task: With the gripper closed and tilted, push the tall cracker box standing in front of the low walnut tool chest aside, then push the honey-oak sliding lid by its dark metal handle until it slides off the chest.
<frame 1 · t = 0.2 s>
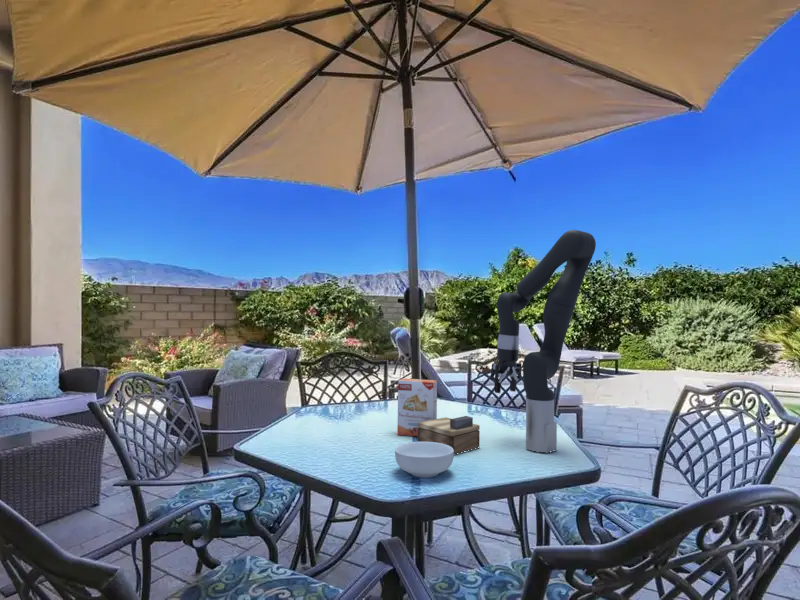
hand: (505, 392, 171), 18 cm above the table, tool pointing down, fingers open, 8 cm apart
cracker box: (416, 435, 178), on the table
cereal bowl: (424, 473, 136), on the table
toolbox lid: (448, 421, 163), point 9 cm above the table, slide at 0.0 cm
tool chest: (448, 446, 163), on the table
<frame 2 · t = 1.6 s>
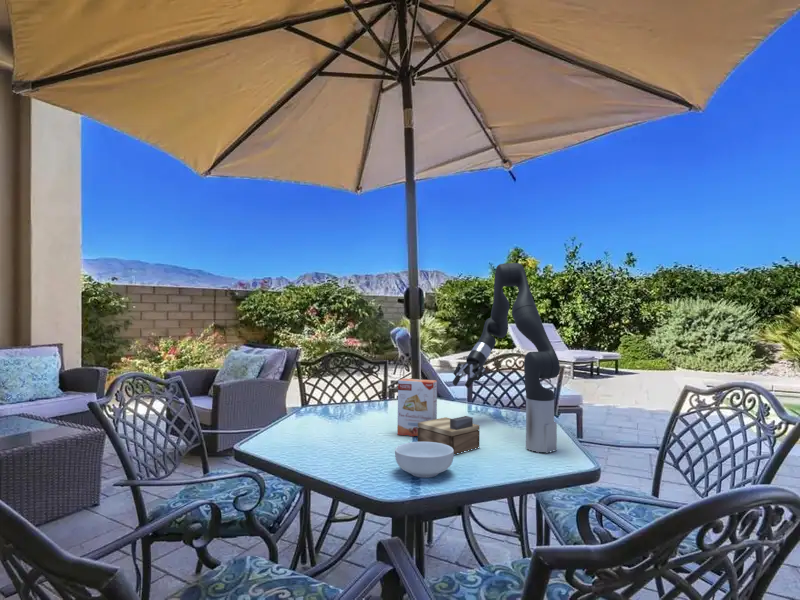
hand: (460, 385, 194), 16 cm above the table, tool tilted 45°, fingers open, 6 cm apart
nothing on the table moved.
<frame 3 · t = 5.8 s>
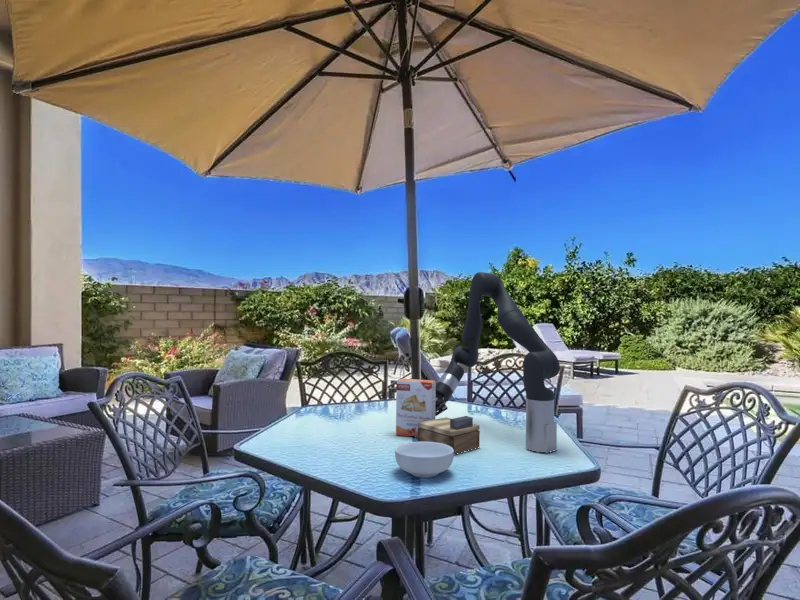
hand: (422, 422, 180), 4 cm above the table, tool tilted 45°, fingers closed
nothing on the table moved.
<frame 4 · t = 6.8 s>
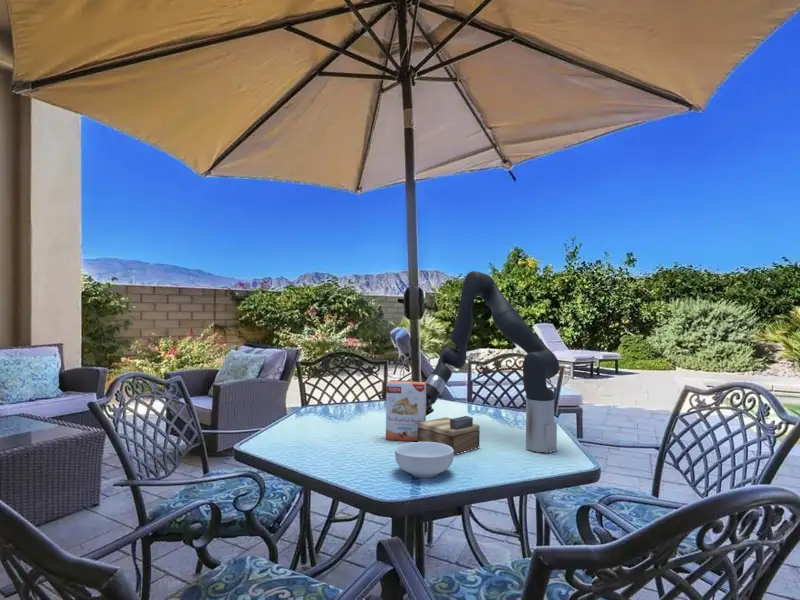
hand: (408, 425, 175), 4 cm above the table, tool tilted 45°, fingers closed
cracker box: (405, 440, 172), on the table, touching gripper
everything else where it was.
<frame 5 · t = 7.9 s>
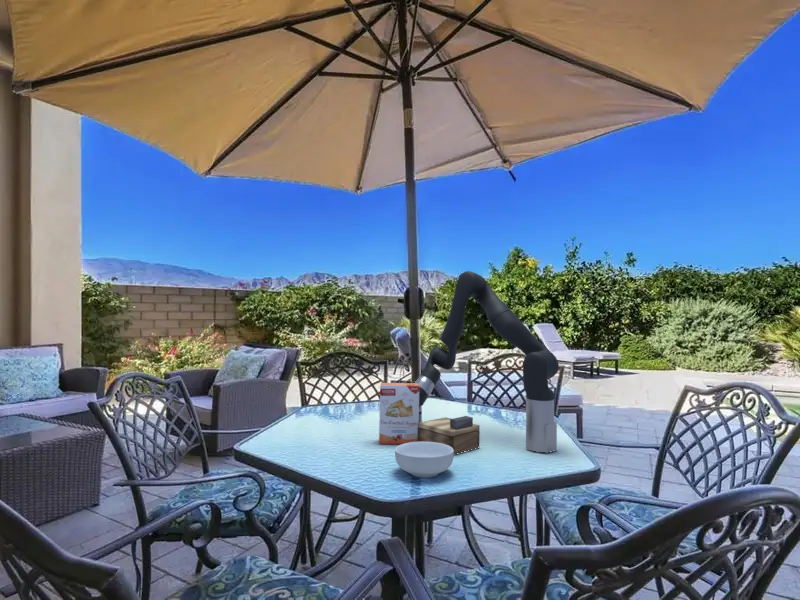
hand: (395, 427, 171), 4 cm above the table, tool tilted 45°, fingers closed
cracker box: (398, 443, 167), on the table, touching gripper
everything else where it was.
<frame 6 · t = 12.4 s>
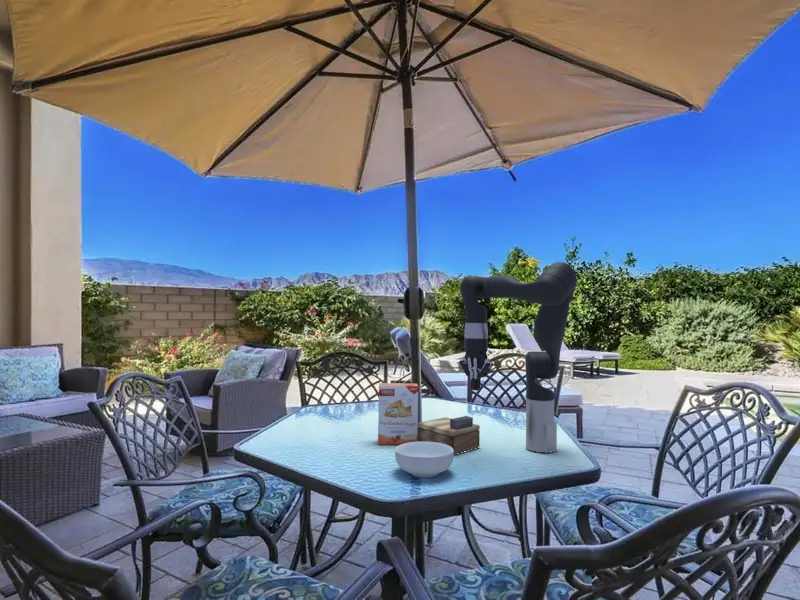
hand: (475, 390, 154), 21 cm above the table, tool pointing down, fingers closed
cracker box: (397, 443, 167), on the table
everything else where it was.
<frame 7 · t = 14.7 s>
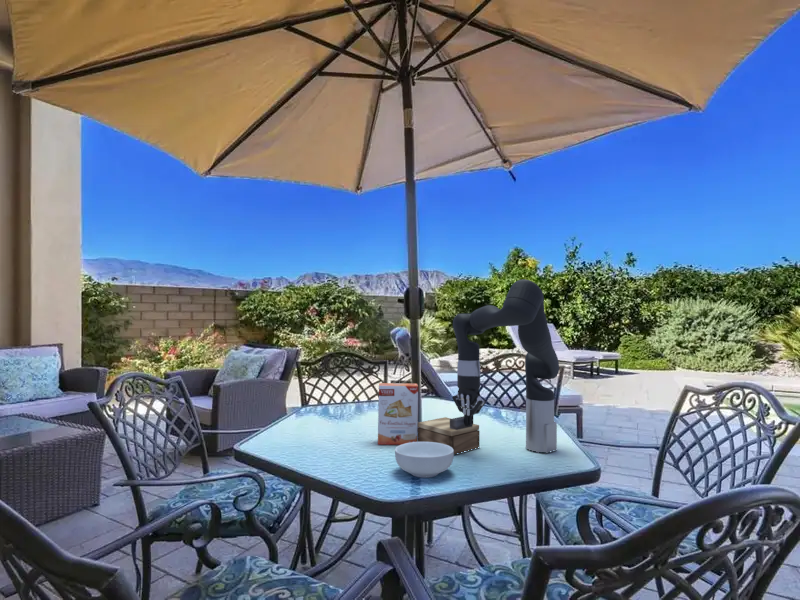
hand: (468, 426, 156), 9 cm above the table, tool pointing down, fingers closed
cracker box: (397, 443, 167), on the table, touching toolbox lid
toolbox lid: (448, 421, 163), point 9 cm above the table, slide at 0.1 cm, touching cracker box, gripper
everything else where it was.
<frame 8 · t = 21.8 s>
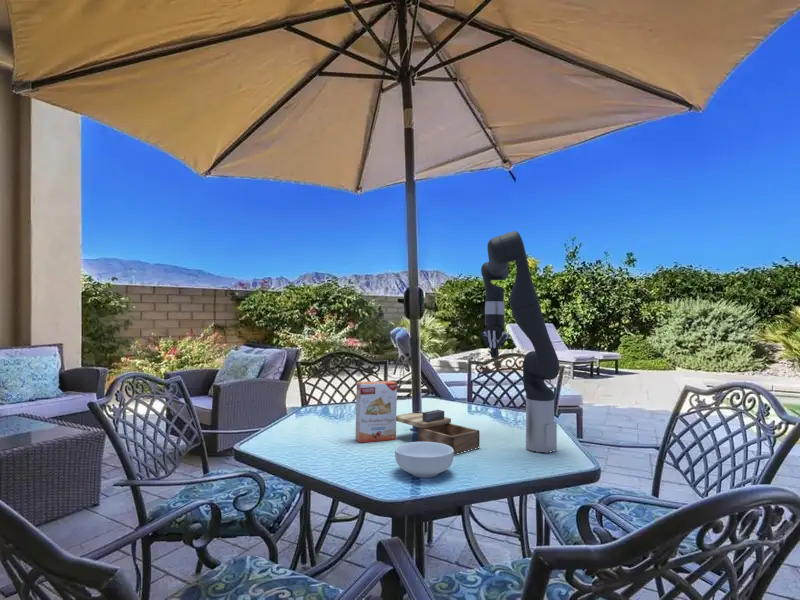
hand: (494, 357, 183), 29 cm above the table, tool pointing down, fingers closed
cracker box: (375, 440, 171), on the table
toolbox lid: (421, 415, 173), point 9 cm above the table, slide at 13.3 cm
everything else where it was.
at the end: cracker box inside the target area (6.8 cm from its centre), on the table; cracker box tilted 0°; toolbox lid slide at 13.3 cm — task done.
